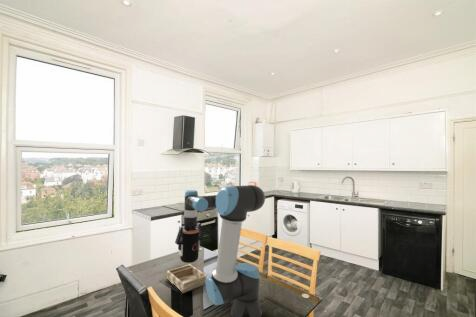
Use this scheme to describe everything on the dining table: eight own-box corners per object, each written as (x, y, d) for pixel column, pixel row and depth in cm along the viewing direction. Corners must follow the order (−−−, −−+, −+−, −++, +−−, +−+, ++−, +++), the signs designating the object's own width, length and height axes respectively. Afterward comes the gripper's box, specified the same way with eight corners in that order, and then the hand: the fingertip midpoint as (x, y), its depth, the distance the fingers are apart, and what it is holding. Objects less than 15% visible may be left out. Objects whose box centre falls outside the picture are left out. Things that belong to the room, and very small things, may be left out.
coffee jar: (194, 264, 135) (195, 233, 135) (177, 262, 137) (177, 231, 137) (200, 256, 145) (201, 227, 145) (184, 254, 148) (185, 226, 147)
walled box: (206, 283, 141) (206, 275, 141) (182, 293, 131) (182, 284, 131) (189, 271, 156) (189, 263, 156) (166, 279, 146) (167, 271, 146)
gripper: (203, 212, 151) (202, 246, 152) (169, 217, 136) (168, 255, 136) (210, 214, 146) (209, 250, 146) (175, 220, 131) (174, 260, 131)
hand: (189, 252), depth 141 cm, fingers closed on coffee jar, 11 cm apart
